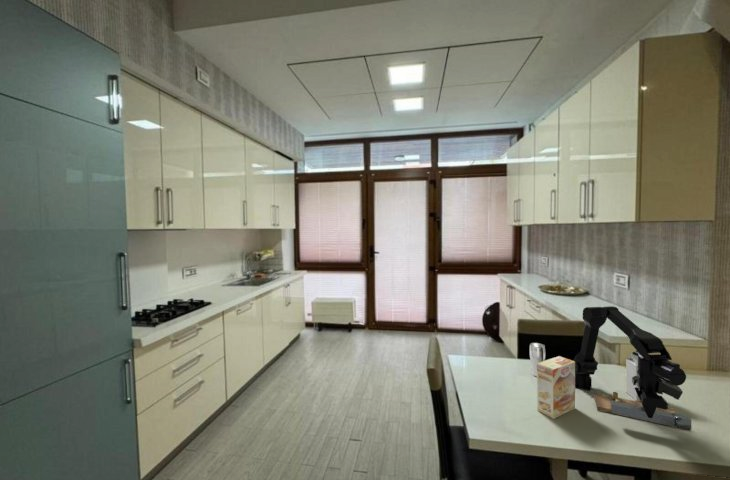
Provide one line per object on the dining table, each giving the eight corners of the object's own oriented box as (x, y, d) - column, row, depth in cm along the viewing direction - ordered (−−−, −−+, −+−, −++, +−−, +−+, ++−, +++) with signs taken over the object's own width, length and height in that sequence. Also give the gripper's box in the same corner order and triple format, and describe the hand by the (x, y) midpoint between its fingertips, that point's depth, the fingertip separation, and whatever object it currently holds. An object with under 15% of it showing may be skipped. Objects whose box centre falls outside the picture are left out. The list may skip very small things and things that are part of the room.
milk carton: (656, 402, 130) (656, 357, 130) (636, 401, 132) (636, 356, 131) (644, 393, 137) (644, 350, 137) (626, 392, 139) (625, 350, 138)
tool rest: (597, 410, 126) (597, 399, 126) (593, 396, 136) (593, 386, 136) (686, 429, 113) (686, 417, 113) (675, 412, 123) (675, 401, 123)
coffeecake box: (554, 419, 121) (553, 369, 120) (536, 410, 127) (535, 362, 127) (576, 408, 128) (575, 361, 127) (558, 400, 134) (558, 355, 134)
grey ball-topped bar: (612, 413, 115) (612, 405, 115) (610, 407, 119) (610, 399, 119) (693, 431, 104) (693, 422, 104) (688, 423, 108) (688, 415, 108)
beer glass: (543, 372, 160) (543, 343, 160) (546, 378, 154) (546, 348, 153) (528, 370, 162) (528, 342, 162) (531, 376, 156) (530, 346, 156)
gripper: (689, 388, 99) (689, 437, 100) (670, 366, 115) (670, 408, 116) (643, 380, 105) (643, 426, 105) (631, 360, 121) (631, 400, 121)
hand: (648, 414), depth 112 cm, fingers closed on grey ball-topped bar, 3 cm apart
